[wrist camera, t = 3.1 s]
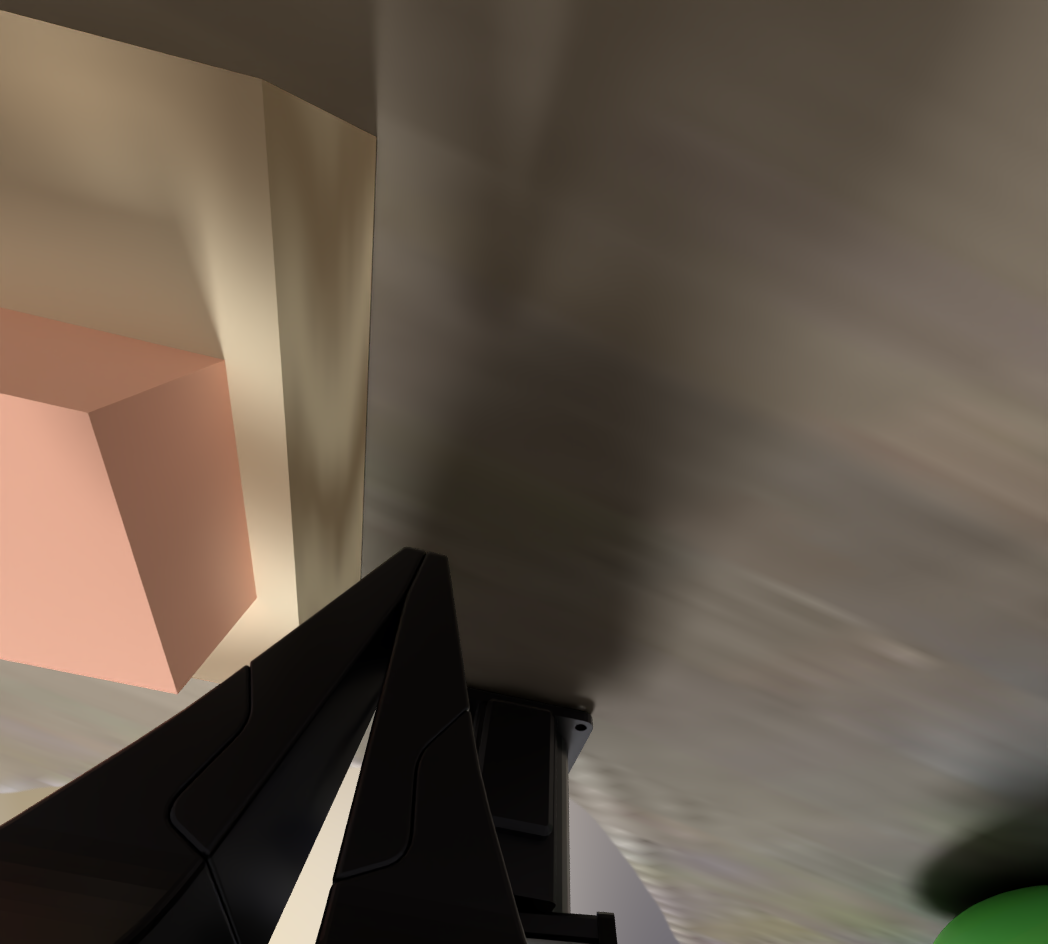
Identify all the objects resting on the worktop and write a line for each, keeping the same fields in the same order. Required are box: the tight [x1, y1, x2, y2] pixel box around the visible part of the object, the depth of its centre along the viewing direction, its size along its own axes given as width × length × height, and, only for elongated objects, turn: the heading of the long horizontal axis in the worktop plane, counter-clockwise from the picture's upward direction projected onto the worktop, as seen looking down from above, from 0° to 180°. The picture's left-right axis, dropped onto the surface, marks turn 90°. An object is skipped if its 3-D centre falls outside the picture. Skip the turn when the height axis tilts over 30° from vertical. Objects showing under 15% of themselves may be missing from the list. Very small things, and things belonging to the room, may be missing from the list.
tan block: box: [0, 10, 377, 684], centre depth 10 cm, size 14×13×4 cm
